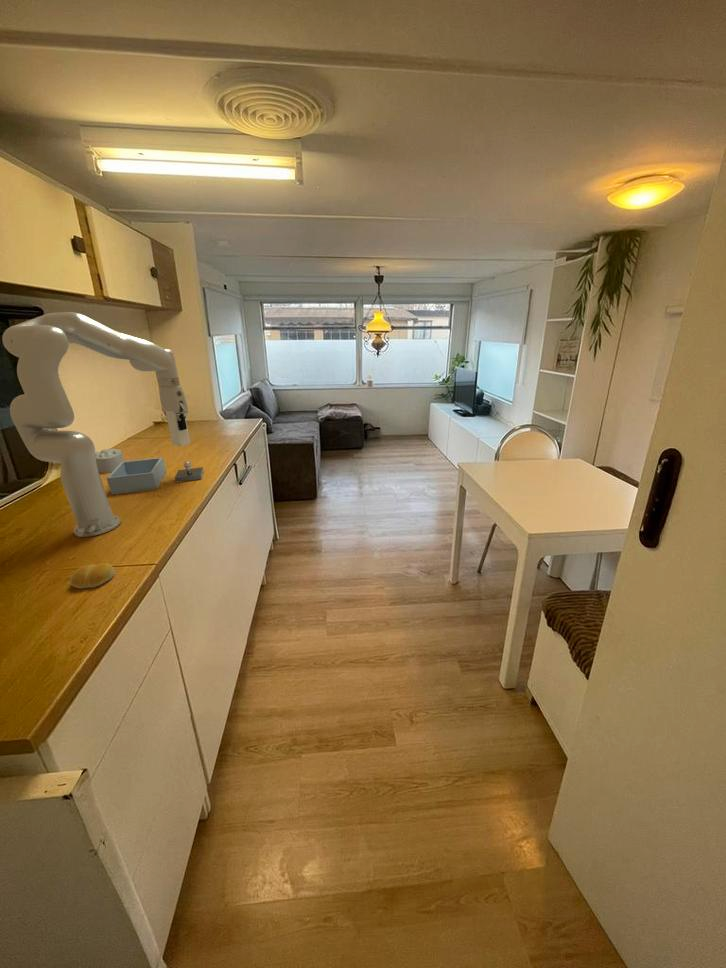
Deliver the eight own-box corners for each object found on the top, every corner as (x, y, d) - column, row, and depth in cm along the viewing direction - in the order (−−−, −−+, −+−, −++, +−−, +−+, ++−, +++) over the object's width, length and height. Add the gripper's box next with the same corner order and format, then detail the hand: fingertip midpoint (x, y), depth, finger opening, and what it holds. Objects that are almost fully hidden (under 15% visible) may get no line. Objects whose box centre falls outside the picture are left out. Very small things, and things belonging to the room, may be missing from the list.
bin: (157, 489, 148) (152, 472, 145) (111, 495, 144) (106, 478, 141) (166, 472, 166) (162, 457, 163) (126, 477, 162) (121, 461, 159)
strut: (190, 443, 154) (183, 409, 149) (180, 446, 151) (172, 411, 145) (183, 441, 157) (175, 408, 151) (173, 444, 153) (165, 410, 147)
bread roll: (107, 587, 92) (103, 573, 91) (67, 592, 91) (61, 578, 89) (121, 567, 100) (117, 554, 98) (84, 572, 98) (79, 559, 97)
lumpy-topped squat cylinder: (126, 463, 180) (121, 445, 176) (123, 471, 169) (117, 453, 166) (101, 466, 176) (95, 449, 172) (96, 475, 165) (90, 457, 162)
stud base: (201, 479, 157) (198, 463, 154) (175, 482, 154) (171, 466, 151) (203, 471, 165) (200, 456, 163) (179, 474, 163) (175, 459, 160)
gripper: (191, 382, 144) (200, 429, 150) (163, 381, 151) (173, 425, 158) (174, 384, 138) (184, 433, 144) (146, 383, 145) (156, 429, 152)
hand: (178, 428), depth 151 cm, fingers closed on strut, 4 cm apart
